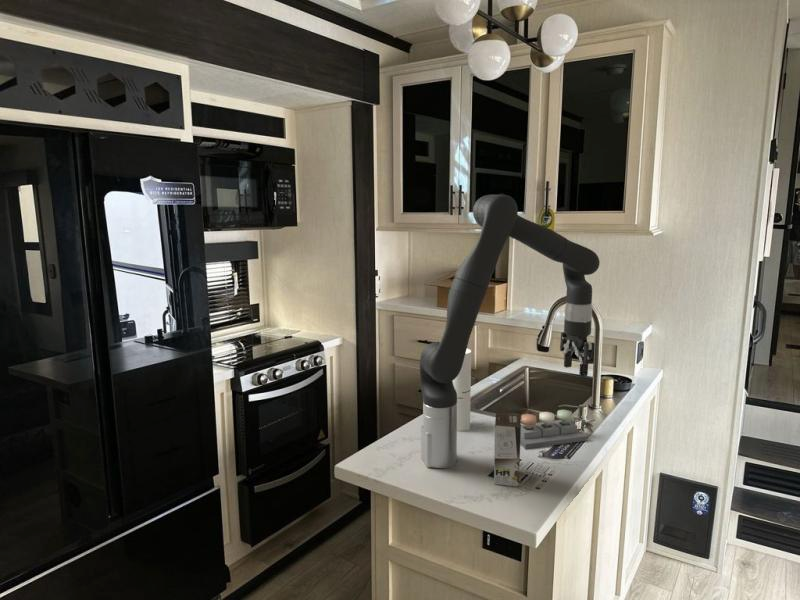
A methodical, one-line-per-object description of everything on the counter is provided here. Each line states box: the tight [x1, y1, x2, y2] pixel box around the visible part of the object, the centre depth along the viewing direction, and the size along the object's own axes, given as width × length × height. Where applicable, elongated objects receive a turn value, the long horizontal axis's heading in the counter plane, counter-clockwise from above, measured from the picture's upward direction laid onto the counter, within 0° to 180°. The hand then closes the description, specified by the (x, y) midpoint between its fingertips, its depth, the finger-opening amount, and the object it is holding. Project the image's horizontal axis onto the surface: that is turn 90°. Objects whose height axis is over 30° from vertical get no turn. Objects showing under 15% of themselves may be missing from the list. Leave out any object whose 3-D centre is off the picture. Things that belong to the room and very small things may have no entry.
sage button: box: [556, 409, 573, 424], centre depth 167 cm, size 4×4×4 cm
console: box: [520, 419, 588, 450], centre depth 166 cm, size 20×12×3 cm, turn 104°
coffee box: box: [493, 412, 522, 487], centre depth 142 cm, size 9×6×16 cm
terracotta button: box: [520, 413, 537, 429], centre depth 164 cm, size 4×4×4 cm
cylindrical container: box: [452, 348, 472, 432], centre depth 172 cm, size 7×7×25 cm
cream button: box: [538, 411, 556, 427], centre depth 165 cm, size 4×4×4 cm
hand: (575, 371), depth 162 cm, fingers open, 8 cm apart
